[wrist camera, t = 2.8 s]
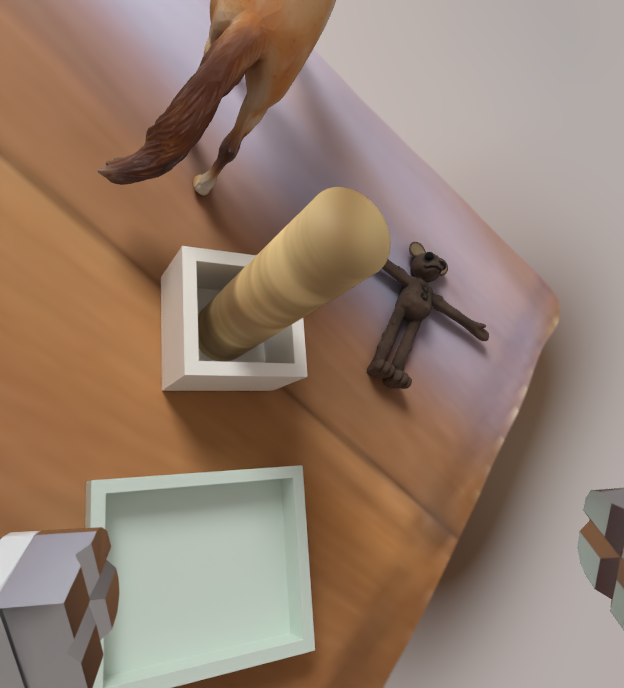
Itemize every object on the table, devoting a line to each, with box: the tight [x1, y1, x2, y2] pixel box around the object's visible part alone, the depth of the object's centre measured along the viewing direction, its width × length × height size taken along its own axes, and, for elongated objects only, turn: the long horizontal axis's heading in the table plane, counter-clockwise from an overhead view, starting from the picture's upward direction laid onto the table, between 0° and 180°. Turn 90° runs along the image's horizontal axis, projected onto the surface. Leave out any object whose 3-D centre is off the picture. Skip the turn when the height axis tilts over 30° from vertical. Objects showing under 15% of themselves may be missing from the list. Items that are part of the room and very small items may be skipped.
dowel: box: [198, 187, 390, 361], centre depth 32 cm, size 4×4×18 cm
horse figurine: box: [98, 0, 336, 196], centre depth 37 cm, size 31×8×21 cm, turn 159°
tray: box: [85, 465, 315, 688], centre depth 35 cm, size 14×12×3 cm
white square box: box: [161, 246, 307, 391], centre depth 38 cm, size 8×8×6 cm
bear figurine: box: [367, 242, 489, 389], centre depth 48 cm, size 18×4×14 cm
